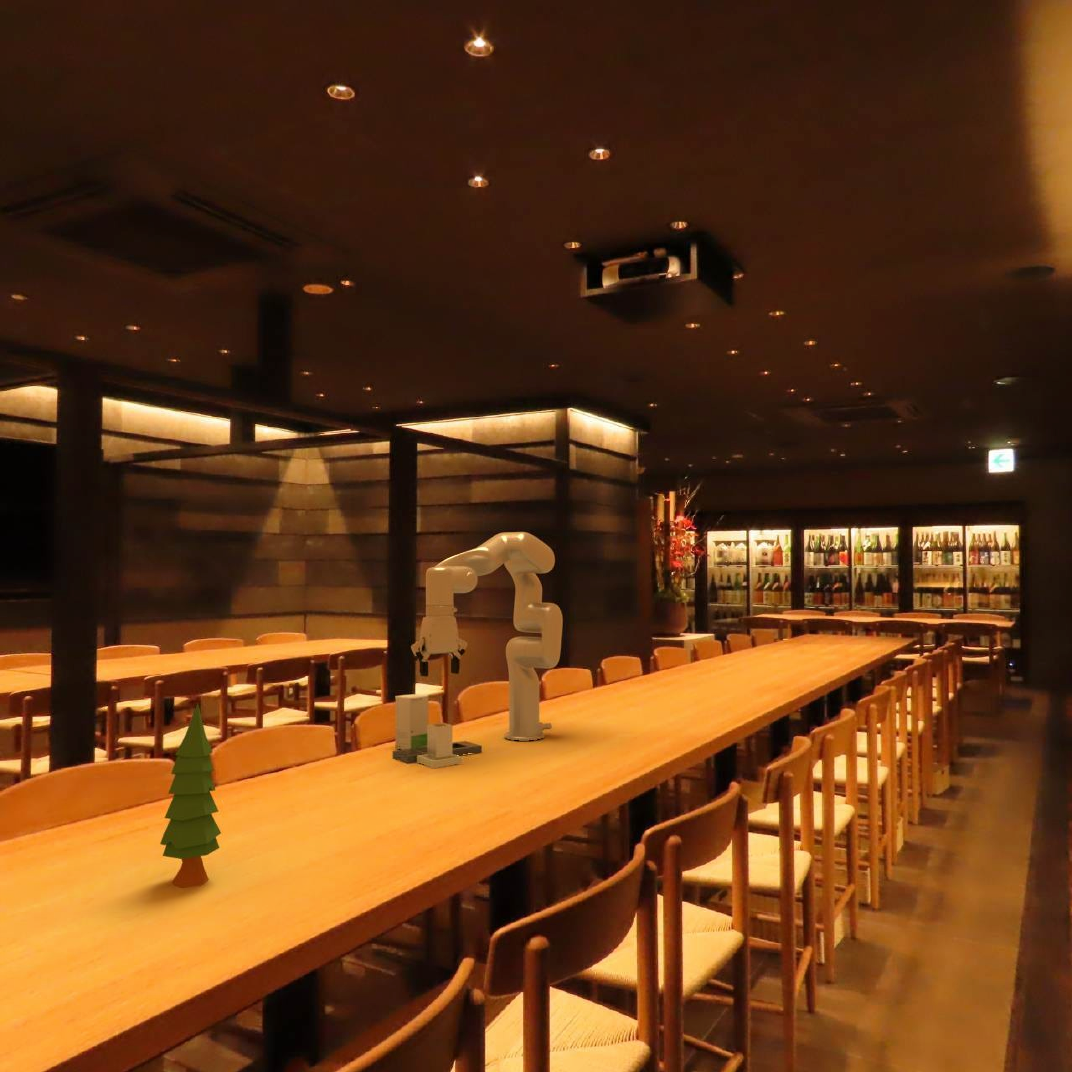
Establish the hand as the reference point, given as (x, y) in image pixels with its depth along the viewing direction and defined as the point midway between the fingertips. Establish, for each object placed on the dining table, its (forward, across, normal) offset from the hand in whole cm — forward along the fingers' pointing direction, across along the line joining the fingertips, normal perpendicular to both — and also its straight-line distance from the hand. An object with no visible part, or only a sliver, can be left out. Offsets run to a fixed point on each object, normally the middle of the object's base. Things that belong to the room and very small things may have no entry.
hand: (439, 674), depth 245 cm
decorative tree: (+24, +81, +55) cm, 101 cm away
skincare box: (+24, -4, -23) cm, 34 cm away
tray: (+24, 0, 0) cm, 24 cm away
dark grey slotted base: (+24, -5, -9) cm, 26 cm away
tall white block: (+24, 0, 0) cm, 24 cm away
